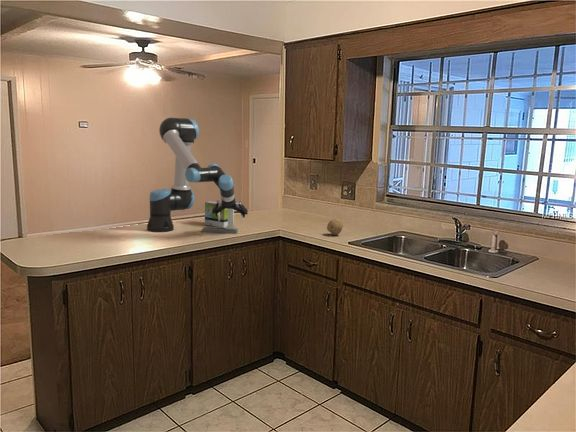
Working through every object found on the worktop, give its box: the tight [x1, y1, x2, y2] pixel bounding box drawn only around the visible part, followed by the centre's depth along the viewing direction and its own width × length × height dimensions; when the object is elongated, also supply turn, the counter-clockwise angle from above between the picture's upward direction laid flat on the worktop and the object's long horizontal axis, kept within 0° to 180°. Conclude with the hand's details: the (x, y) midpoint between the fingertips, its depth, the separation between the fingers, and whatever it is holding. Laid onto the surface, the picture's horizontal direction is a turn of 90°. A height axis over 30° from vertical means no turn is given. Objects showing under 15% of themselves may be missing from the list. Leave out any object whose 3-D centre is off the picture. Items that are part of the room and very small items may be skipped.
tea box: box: [204, 200, 228, 228], centre depth 293 cm, size 15×10×15 cm, turn 62°
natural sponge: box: [326, 218, 344, 236], centre depth 276 cm, size 9×9×10 cm
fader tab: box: [226, 209, 236, 229], centre depth 272 cm, size 5×4×13 cm
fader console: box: [201, 226, 239, 235], centre depth 274 cm, size 20×6×2 cm, turn 89°
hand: (231, 219), depth 275 cm, fingers open, 13 cm apart
